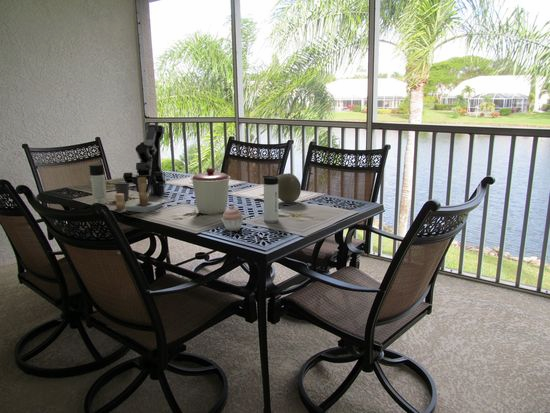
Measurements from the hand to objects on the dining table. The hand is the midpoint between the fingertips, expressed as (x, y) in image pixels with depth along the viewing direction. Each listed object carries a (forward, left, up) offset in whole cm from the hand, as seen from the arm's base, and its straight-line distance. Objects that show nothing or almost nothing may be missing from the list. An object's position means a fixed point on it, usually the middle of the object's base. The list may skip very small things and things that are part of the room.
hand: (142, 192), depth 208 cm
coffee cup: (-24, +12, -9) cm, 28 cm away
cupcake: (+55, -12, -9) cm, 57 cm away
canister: (+33, +8, -9) cm, 35 cm away
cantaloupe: (+59, +38, -9) cm, 71 cm away
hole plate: (-1, +1, -8) cm, 9 cm away
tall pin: (-1, +1, -7) cm, 7 cm away
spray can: (-29, +1, -9) cm, 30 cm away
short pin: (-12, -3, -8) cm, 15 cm away
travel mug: (+65, +4, -9) cm, 66 cm away
